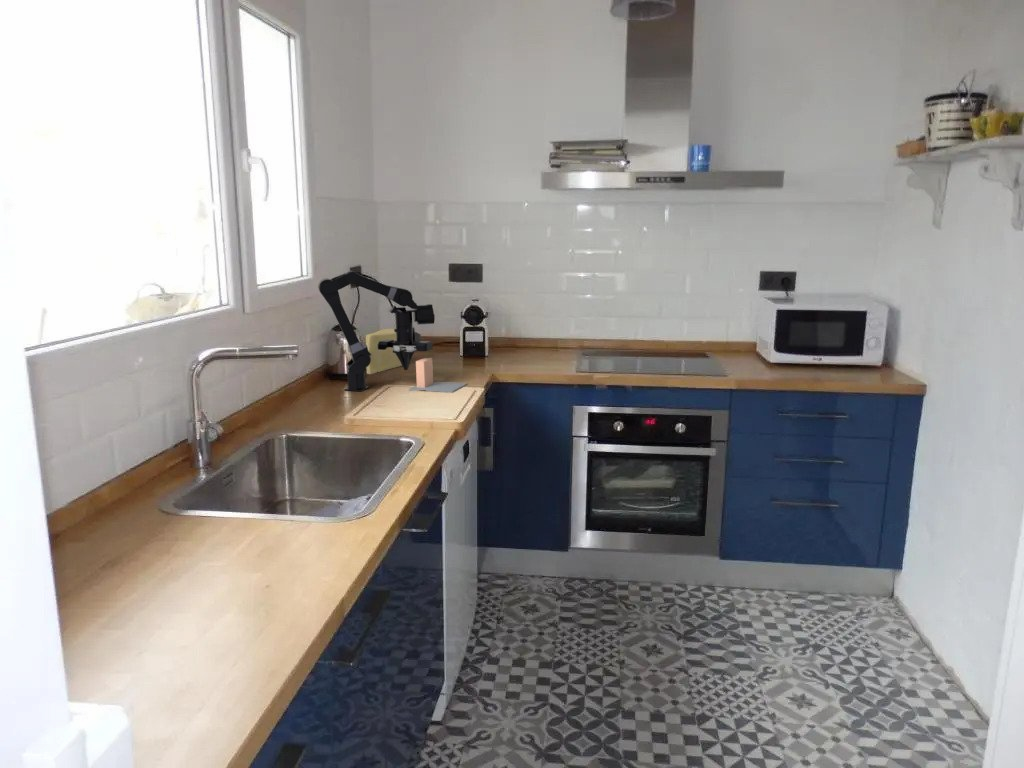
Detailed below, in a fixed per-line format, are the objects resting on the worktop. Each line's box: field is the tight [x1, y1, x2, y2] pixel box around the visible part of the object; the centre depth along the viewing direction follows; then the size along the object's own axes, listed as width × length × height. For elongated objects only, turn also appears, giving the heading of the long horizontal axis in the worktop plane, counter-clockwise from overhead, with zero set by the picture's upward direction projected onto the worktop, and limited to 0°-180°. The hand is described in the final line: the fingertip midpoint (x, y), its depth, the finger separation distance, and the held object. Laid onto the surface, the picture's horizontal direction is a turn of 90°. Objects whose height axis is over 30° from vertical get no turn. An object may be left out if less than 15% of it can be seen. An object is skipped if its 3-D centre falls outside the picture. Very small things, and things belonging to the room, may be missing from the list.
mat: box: [408, 380, 468, 393], centre depth 260 cm, size 14×16×1 cm
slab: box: [415, 357, 434, 388], centre depth 261 cm, size 7×3×9 cm, turn 162°
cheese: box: [365, 328, 406, 375], centre depth 293 cm, size 22×10×15 cm, turn 159°
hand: (406, 369), depth 263 cm, fingers closed
